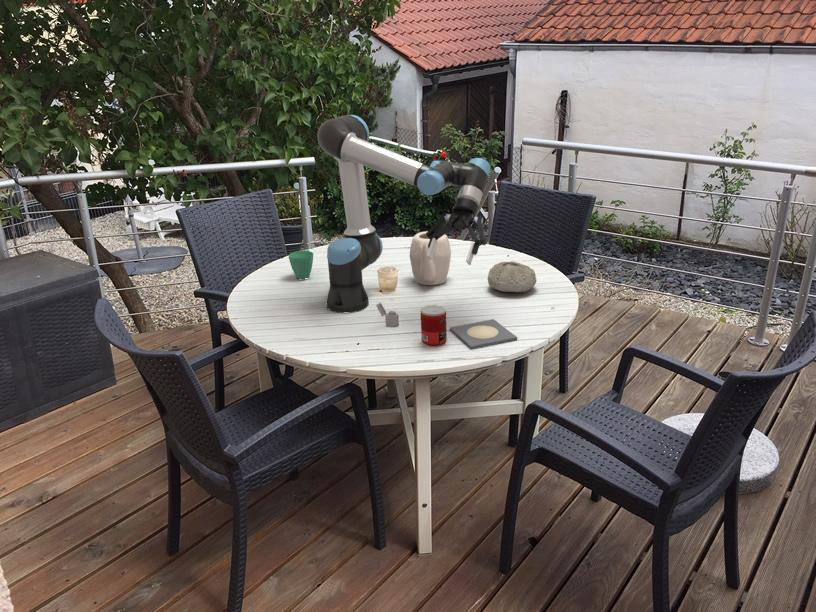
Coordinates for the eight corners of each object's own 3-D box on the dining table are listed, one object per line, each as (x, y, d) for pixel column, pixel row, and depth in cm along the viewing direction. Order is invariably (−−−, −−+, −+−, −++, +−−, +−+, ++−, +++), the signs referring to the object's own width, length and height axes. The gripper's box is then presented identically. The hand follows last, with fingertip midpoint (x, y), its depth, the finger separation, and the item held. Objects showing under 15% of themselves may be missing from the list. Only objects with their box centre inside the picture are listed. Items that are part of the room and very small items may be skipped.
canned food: (444, 347, 211) (444, 314, 207) (419, 346, 213) (418, 313, 208) (448, 337, 218) (447, 305, 214) (423, 336, 219) (422, 304, 215)
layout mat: (470, 349, 209) (470, 346, 209) (449, 330, 223) (449, 327, 223) (517, 340, 214) (517, 336, 214) (493, 321, 228) (493, 318, 228)
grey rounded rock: (533, 281, 263) (534, 256, 259) (538, 298, 246) (539, 272, 243) (486, 282, 264) (486, 257, 261) (488, 298, 248) (488, 272, 244)
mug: (312, 282, 271) (309, 258, 268) (288, 282, 272) (285, 258, 269) (320, 270, 285) (318, 247, 281) (297, 270, 286) (295, 247, 282)
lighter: (399, 325, 228) (398, 303, 225) (397, 327, 227) (396, 305, 224) (378, 324, 230) (377, 302, 227) (377, 326, 228) (375, 304, 225)
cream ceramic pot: (404, 294, 255) (402, 245, 248) (416, 270, 280) (415, 226, 273) (445, 295, 253) (445, 246, 245) (454, 271, 277) (454, 226, 270)
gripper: (506, 212, 219) (488, 270, 212) (437, 206, 231) (417, 261, 224) (500, 199, 213) (481, 259, 206) (429, 193, 224) (409, 250, 218)
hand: (448, 260), depth 215 cm, fingers open, 13 cm apart
